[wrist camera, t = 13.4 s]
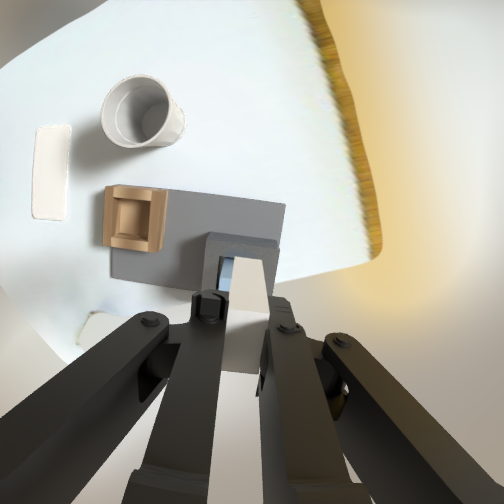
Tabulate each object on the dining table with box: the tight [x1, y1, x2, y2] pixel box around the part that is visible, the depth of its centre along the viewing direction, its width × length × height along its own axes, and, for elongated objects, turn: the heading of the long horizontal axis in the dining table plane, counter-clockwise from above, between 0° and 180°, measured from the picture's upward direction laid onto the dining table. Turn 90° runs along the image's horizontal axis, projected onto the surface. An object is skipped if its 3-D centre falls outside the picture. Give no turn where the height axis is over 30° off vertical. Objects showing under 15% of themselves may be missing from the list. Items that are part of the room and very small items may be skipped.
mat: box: [112, 185, 286, 292], centre depth 43 cm, size 24×14×1 cm, turn 82°
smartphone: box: [32, 125, 71, 220], centre depth 41 cm, size 7×1×15 cm
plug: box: [219, 257, 234, 292], centre depth 39 cm, size 4×4×10 cm
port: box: [201, 232, 280, 296], centre depth 42 cm, size 9×9×5 cm
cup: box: [101, 75, 186, 148], centre depth 34 cm, size 8×8×12 cm
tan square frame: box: [103, 185, 168, 253], centre depth 40 cm, size 8×8×4 cm
